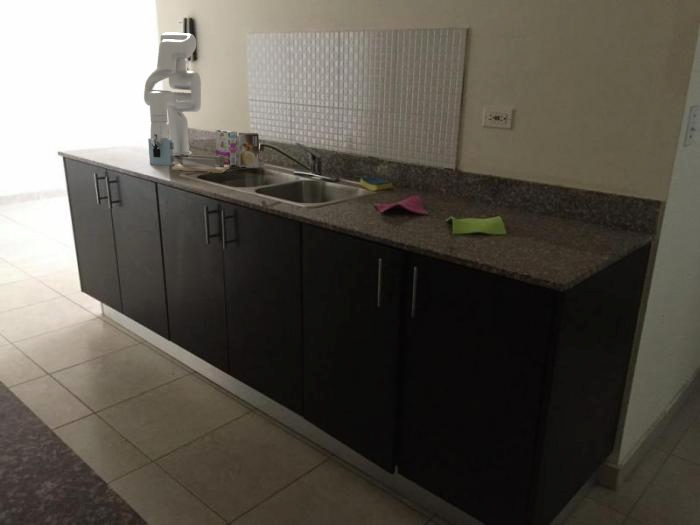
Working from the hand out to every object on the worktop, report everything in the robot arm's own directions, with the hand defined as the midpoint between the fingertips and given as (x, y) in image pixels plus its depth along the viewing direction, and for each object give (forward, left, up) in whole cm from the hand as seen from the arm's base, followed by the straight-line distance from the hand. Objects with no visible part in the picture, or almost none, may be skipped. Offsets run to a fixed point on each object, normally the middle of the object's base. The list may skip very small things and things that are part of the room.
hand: (161, 155), depth 282 cm
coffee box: (-7, +41, -4) cm, 42 cm away
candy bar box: (-10, +29, -4) cm, 31 cm away
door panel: (0, 0, -4) cm, 4 cm away
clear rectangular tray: (+6, +22, -4) cm, 23 cm away
